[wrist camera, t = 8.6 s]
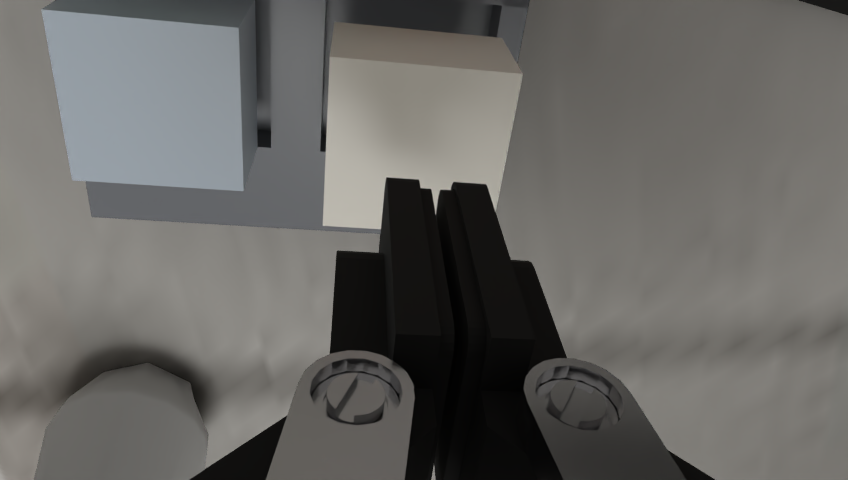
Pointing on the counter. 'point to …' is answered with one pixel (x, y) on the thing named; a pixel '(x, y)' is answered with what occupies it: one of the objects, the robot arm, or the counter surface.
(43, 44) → the counter surface
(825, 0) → the black flat oval
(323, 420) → the robot arm
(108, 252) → the counter surface
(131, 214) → the keypad base
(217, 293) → the counter surface
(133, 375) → the salt shaker
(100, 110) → the slate key
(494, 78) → the cream key
